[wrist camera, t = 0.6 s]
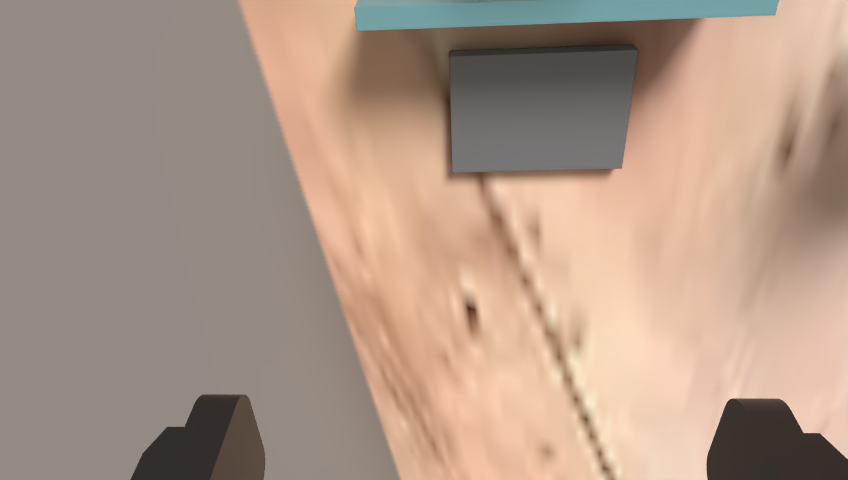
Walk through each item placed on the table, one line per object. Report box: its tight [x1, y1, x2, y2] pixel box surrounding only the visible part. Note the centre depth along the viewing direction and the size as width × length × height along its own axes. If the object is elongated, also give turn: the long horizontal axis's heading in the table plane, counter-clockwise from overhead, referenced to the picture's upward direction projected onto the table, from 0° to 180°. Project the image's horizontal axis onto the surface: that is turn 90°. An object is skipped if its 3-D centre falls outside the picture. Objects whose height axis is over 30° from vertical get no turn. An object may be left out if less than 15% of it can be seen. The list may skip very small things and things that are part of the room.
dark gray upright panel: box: [449, 45, 638, 173], centre depth 36 cm, size 7×10×1 cm
